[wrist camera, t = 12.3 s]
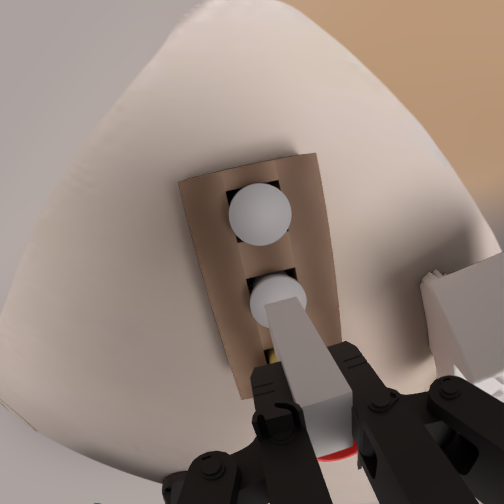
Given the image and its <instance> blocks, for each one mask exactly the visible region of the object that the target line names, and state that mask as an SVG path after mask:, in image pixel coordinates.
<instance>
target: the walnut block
mask: <svg viewBox="0 0 504 504" xmlns="http://www.w3.org/2000/svg"><path fill="white" fill-rule="evenodd" d="M265 182H269V183H270V185H271V186H274V187H276V188H277V189H279V190H280V191H281V192H282V193H283V194H284V195H285V196H286V197H287V199H288V201H289V203H290V207H291V222H290V225H289V227H288V229H287V231H286V233H285V234H284V235H283V236H282V237H281V238H280V239H279V240H277V241H275V242H274V243H271V244H268V245H263V246H256V245H251V244H248V243H246V242H244V241H242V240H241V239H240V238H239V237H238V236H237V235H236V234H235V233H234V231H233V230H232V227H231V225H230V221H229V203H228V198H227V194H226V191H229V190H234V189H238V188H243V187H245V186H248V185H251V184H255V183H265ZM178 185H179V189H180V193H181V197H182V201H183V205H184V209H185V213H186V217H187V221H188V224H189V228H190V232H191V236H192V240H193V243H194V247H195V251H196V254H197V258H198V261H199V265H200V269H201V272H202V276H203V279H204V283H205V286H206V290H207V293H208V296H209V300H210V303H211V306H212V310H213V313H214V316H215V320H216V323H217V326H218V329H219V332H220V336H221V339H222V342H223V345H224V348H225V351H226V354H227V358H228V361H229V364H230V367H231V370H232V373H233V376H234V379H235V382H236V385H237V387H238V390H239V393H240V396H241V399H242V400H243V399H248V398H253V392H252V386H251V380H250V376H251V374H252V372H253V369H254V368H255V367H259V366H263V365H267V364H269V360H268V355H267V352H264V350H266V349H270V348H274V346H273V342H272V338H271V334H270V329H269V328H267V327H264V326H262V325H261V324H259V323H258V322H257V321H256V320H255V318H254V317H253V315H252V312H251V308H250V292H249V288H248V284H247V279H248V278H252V277H256V276H261V275H265V274H269V273H273V272H277V271H281V270H286V269H287V274H288V275H289V276H290V277H292V278H294V279H295V280H297V281H298V282H299V283H300V285H301V286H302V288H303V290H304V291H305V294H306V298H307V304H306V308H305V312H306V313H307V315H308V317H309V318H310V320H311V322H312V323H313V325H314V327H315V328H316V330H317V332H318V334H319V335H320V337H321V339H322V340H323V342H324V344H325V345H326V347H328V346H332V345H335V344H338V343H341V342H342V337H341V325H340V314H339V303H338V294H337V285H336V276H335V268H334V260H333V252H332V245H331V238H330V231H329V224H328V218H327V212H326V205H325V199H324V194H323V188H322V182H321V177H320V171H319V166H318V161H317V156H316V153H310V154H302V155H295V156H290V157H284V158H279V159H274V160H269V161H264V162H259V163H254V164H249V165H245V166H240V167H236V168H231V169H227V170H222V171H218V172H214V173H210V174H206V175H202V176H198V177H194V178H190V179H186V180H183V181H181V182H178Z"/></svg>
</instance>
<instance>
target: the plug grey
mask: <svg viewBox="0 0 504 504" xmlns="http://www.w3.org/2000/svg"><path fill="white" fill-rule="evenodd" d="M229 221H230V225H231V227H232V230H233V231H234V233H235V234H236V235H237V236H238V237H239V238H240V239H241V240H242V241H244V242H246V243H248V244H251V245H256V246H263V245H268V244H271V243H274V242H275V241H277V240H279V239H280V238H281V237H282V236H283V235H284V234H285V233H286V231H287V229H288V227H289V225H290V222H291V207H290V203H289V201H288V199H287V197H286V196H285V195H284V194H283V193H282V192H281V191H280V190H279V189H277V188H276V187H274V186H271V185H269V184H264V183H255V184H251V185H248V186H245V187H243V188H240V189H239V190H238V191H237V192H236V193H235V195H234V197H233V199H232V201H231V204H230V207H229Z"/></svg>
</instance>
